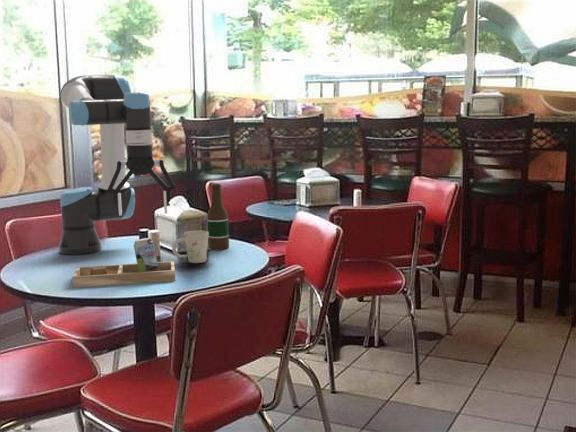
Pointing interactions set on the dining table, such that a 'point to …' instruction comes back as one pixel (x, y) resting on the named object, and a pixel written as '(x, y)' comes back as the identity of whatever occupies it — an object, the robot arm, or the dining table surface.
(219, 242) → the beer bottle
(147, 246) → the beverage can
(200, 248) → the mug
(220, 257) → the dining table surface
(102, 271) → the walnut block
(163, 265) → the walled box
